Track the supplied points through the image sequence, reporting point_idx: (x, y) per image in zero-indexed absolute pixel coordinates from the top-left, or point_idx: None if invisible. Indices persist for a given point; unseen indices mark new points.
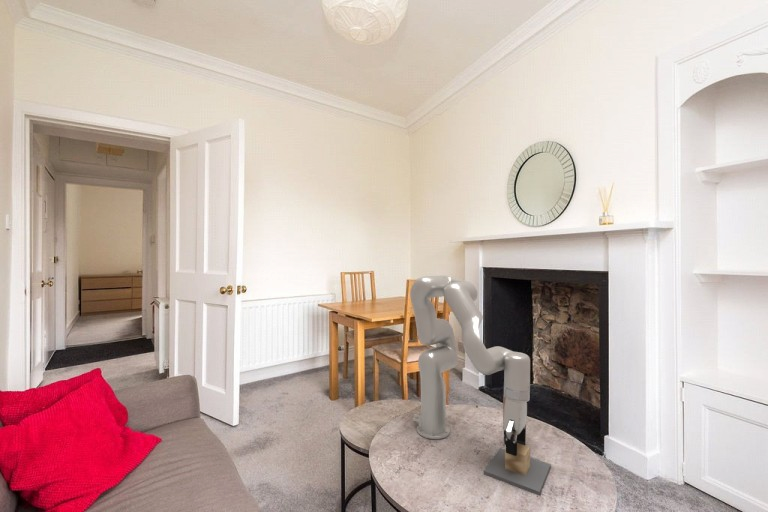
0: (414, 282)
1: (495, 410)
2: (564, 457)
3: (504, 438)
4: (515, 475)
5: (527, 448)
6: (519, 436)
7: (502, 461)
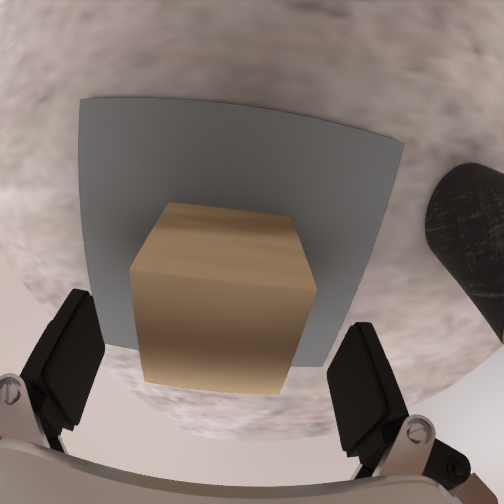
0: None
1: None
2: (397, 374)
3: (480, 174)
4: None
5: (248, 389)
6: (344, 376)
7: (240, 174)
